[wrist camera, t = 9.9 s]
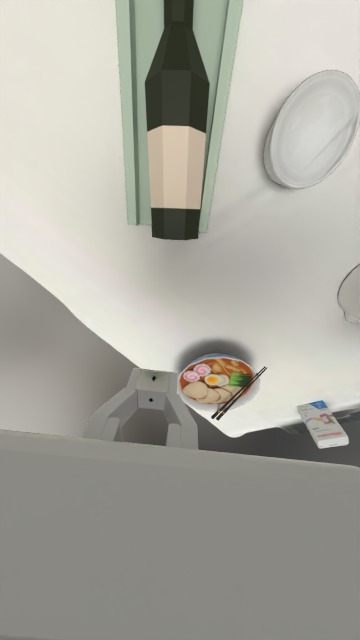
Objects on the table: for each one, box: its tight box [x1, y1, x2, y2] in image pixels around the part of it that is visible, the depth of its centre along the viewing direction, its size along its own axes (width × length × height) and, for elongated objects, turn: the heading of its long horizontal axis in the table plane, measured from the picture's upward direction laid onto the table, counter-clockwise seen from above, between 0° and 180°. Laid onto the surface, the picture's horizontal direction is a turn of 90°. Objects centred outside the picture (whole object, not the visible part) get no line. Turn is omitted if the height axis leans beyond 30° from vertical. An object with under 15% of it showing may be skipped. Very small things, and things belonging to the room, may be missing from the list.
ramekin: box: [264, 70, 360, 189], centre depth 26 cm, size 11×11×5 cm
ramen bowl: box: [177, 353, 267, 420], centre depth 51 cm, size 25×23×8 cm
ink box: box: [297, 401, 349, 448], centre depth 58 cm, size 9×5×12 cm, turn 118°
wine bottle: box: [145, 0, 210, 240], centre depth 23 cm, size 8×8×30 cm
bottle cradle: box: [115, 0, 243, 233], centre depth 25 cm, size 14×30×4 cm, turn 175°
